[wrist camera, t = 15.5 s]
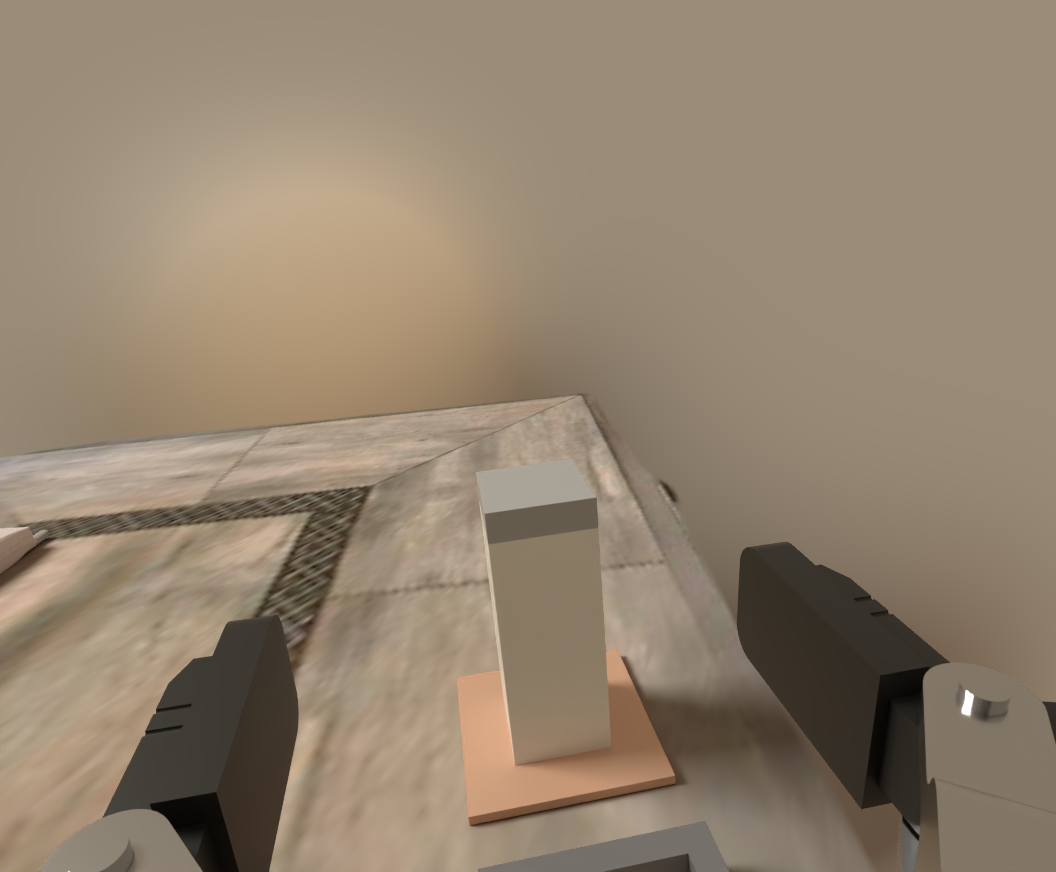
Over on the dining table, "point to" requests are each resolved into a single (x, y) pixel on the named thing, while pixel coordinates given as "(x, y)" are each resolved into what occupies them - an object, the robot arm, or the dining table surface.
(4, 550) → the mobile phone
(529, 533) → the block
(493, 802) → the coaster
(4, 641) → the dining table surface
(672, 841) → the charging dock
